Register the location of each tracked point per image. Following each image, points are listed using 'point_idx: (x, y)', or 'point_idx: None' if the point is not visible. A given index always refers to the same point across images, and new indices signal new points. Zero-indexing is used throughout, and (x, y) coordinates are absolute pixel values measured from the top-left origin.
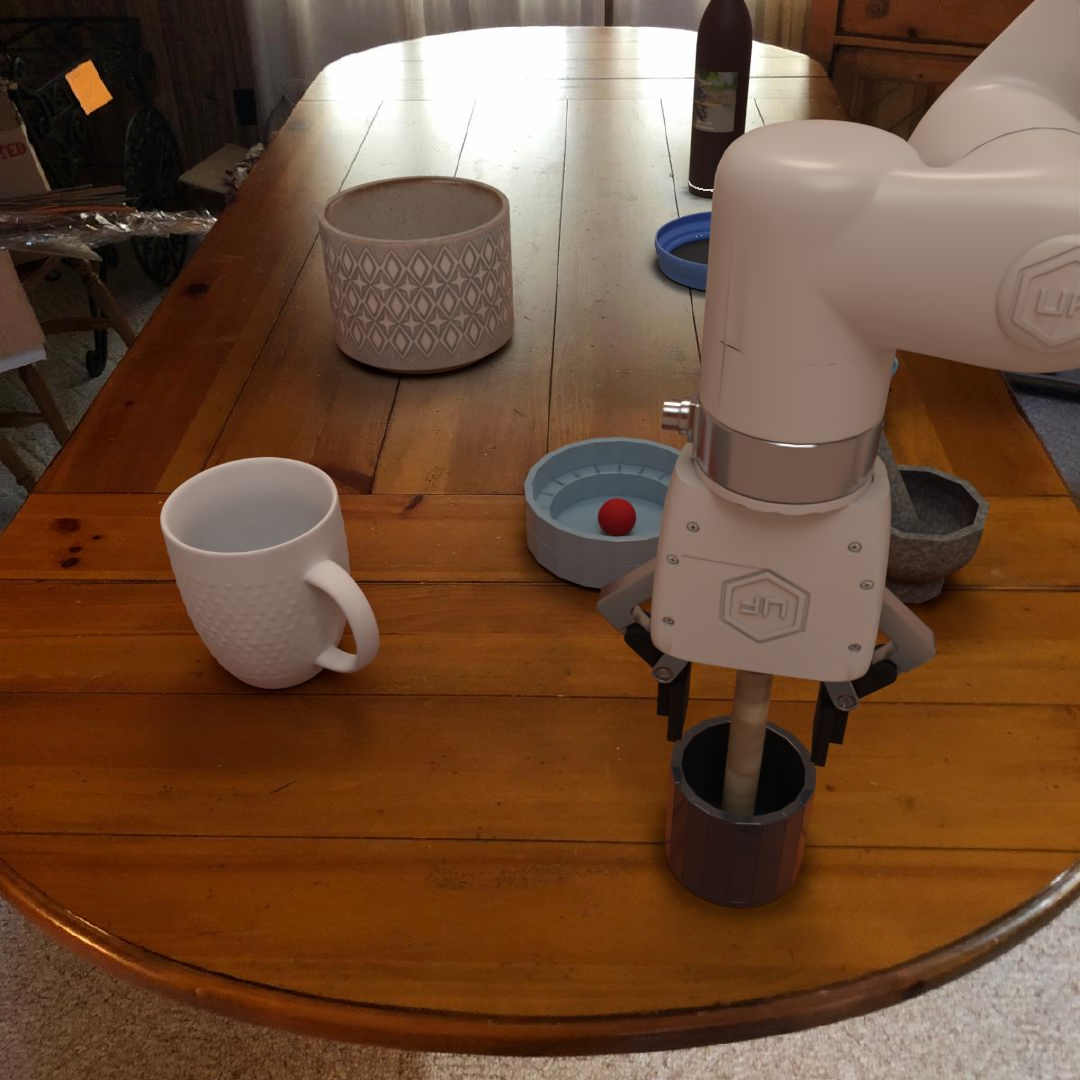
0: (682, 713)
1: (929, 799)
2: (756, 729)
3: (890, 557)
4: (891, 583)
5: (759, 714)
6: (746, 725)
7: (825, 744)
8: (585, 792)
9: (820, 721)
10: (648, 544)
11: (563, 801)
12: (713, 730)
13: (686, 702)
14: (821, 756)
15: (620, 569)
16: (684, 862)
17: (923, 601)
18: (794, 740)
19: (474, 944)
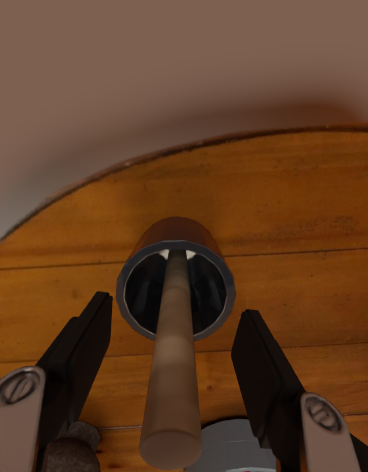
0: (258, 342)
1: (63, 297)
2: (167, 328)
3: (69, 467)
4: (79, 436)
5: (164, 348)
6: (179, 332)
7: (86, 313)
8: (260, 287)
9: (80, 344)
10: (226, 464)
11: (273, 280)
12: (197, 329)
13: (242, 356)
14: (96, 300)
15: (239, 438)
16: (210, 235)
17: None
18: (133, 324)
19: (332, 179)
